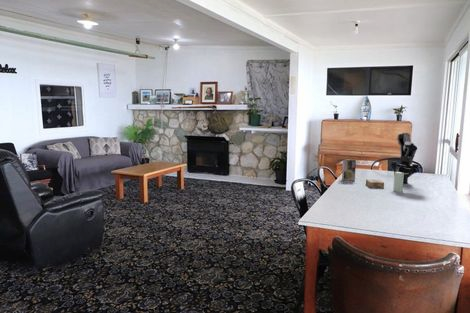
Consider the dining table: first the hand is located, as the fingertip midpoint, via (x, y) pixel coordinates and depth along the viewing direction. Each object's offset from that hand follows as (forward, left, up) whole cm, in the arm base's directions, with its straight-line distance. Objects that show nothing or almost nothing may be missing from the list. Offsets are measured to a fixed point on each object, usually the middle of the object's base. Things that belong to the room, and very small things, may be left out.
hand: (401, 176), depth 257 cm
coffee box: (+28, -33, -10) cm, 44 cm away
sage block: (+2, +2, -10) cm, 11 cm away
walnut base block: (+14, -11, -10) cm, 20 cm away
